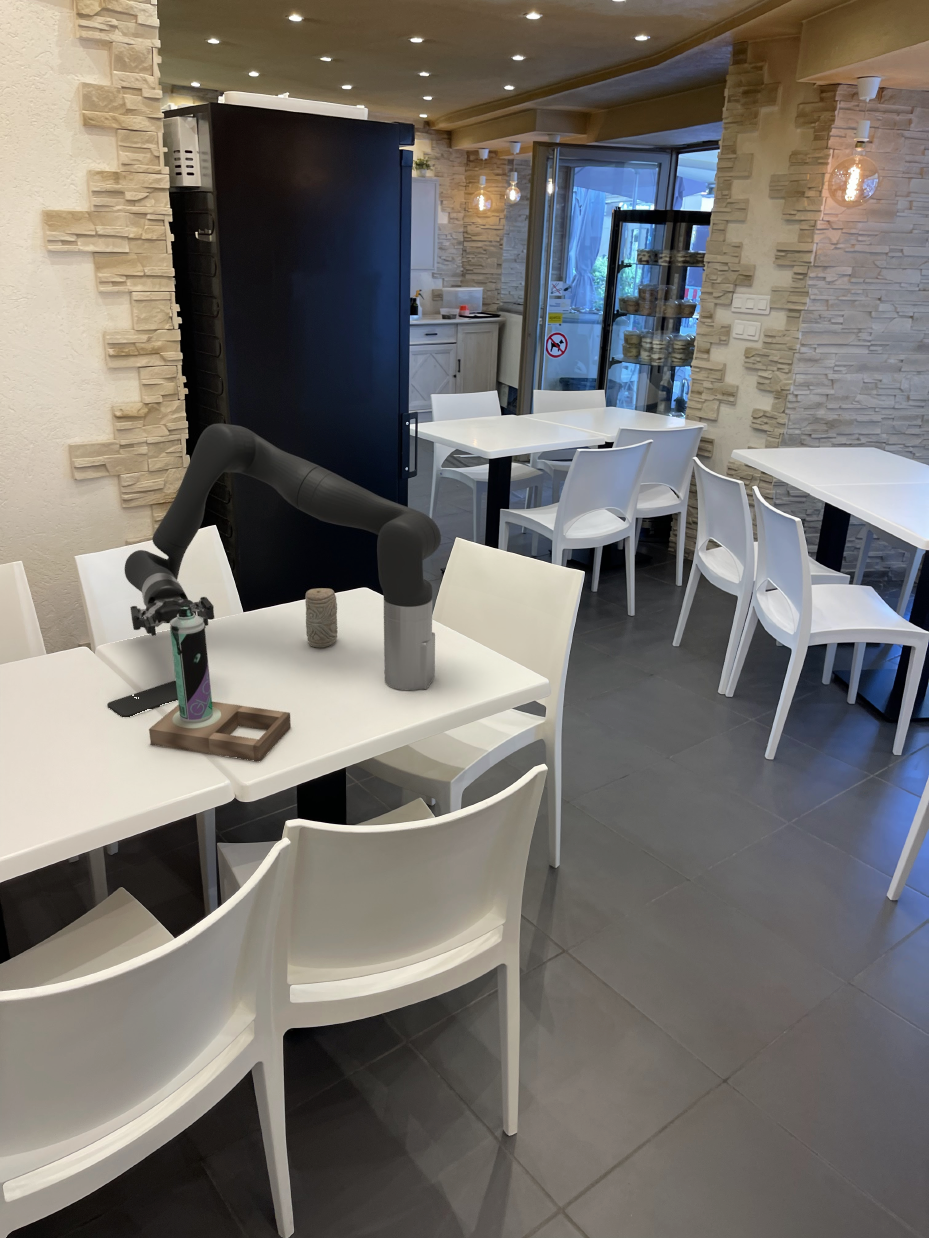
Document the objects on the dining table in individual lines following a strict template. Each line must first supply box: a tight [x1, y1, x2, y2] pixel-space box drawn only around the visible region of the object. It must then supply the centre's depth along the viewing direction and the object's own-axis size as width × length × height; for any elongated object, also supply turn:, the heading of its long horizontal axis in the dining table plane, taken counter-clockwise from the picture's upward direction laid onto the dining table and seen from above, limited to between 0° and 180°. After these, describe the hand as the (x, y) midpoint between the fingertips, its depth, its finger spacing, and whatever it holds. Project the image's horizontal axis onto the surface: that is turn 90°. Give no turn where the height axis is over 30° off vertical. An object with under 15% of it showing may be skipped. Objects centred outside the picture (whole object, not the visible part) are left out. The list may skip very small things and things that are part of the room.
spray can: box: [169, 606, 213, 723], centre depth 151 cm, size 6×6×20 cm
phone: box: [107, 679, 178, 718], centre depth 167 cm, size 7×1×15 cm
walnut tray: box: [148, 700, 292, 762], centre depth 154 cm, size 20×12×3 cm, turn 76°
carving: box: [304, 587, 338, 649], centre depth 190 cm, size 6×8×12 cm
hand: (178, 627), depth 159 cm, fingers open, 8 cm apart
